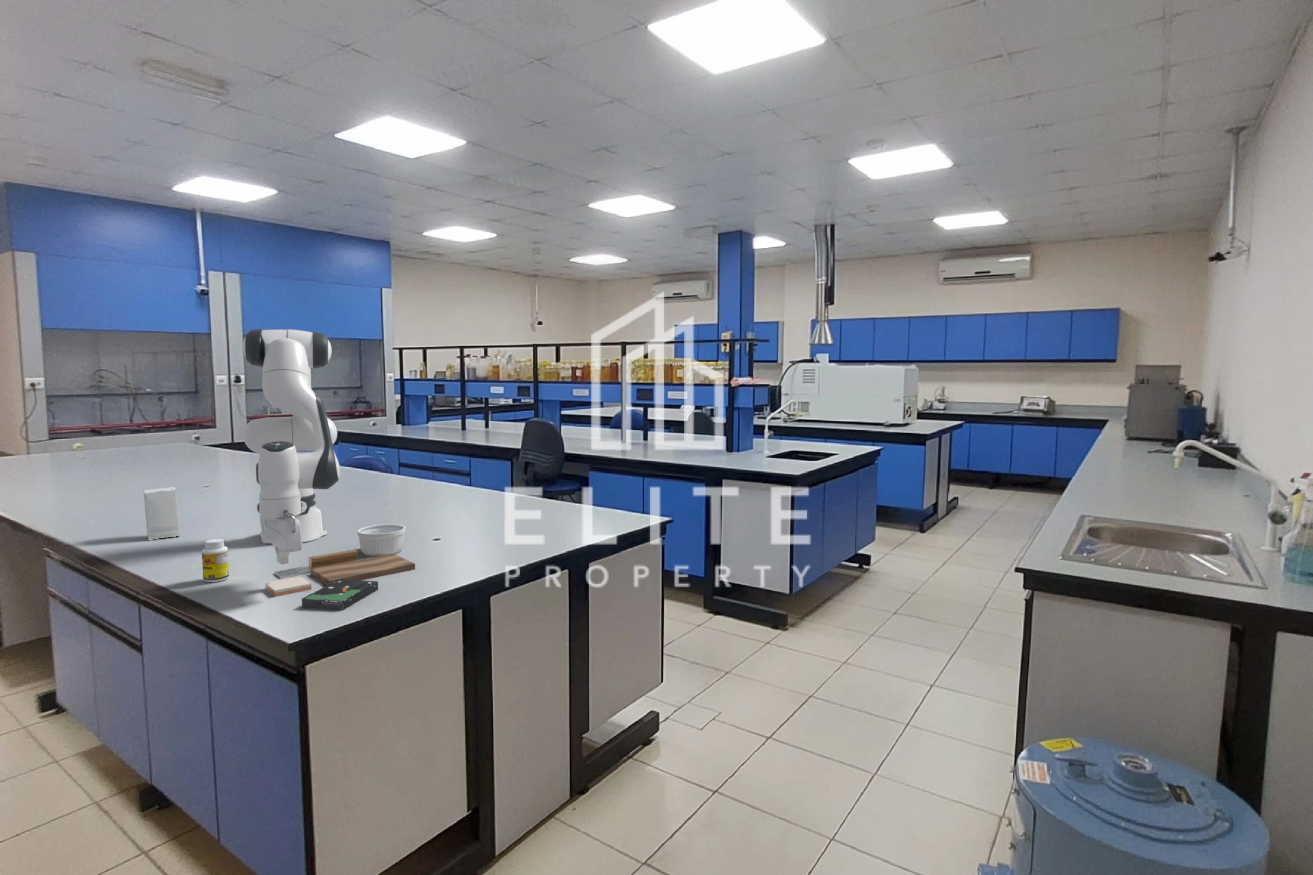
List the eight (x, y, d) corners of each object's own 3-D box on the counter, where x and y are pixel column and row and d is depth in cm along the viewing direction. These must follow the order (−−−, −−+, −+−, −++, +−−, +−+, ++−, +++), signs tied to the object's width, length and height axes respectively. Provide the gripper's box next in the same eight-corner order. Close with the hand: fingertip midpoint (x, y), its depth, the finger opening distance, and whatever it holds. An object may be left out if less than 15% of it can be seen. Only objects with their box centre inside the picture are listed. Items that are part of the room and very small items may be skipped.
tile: (265, 582, 162) (274, 590, 157) (300, 576, 168) (311, 583, 162) (265, 590, 163) (275, 598, 157) (300, 583, 168) (311, 591, 163)
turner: (352, 559, 189) (351, 548, 188) (360, 564, 184) (359, 552, 184) (273, 573, 175) (273, 561, 174) (280, 579, 170) (280, 566, 170)
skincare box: (178, 533, 216) (175, 486, 215) (180, 537, 211) (177, 489, 210) (146, 537, 211) (143, 489, 210) (147, 541, 206) (144, 492, 205)
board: (310, 574, 175) (310, 568, 174) (393, 558, 190) (393, 553, 190) (329, 586, 165) (329, 580, 165) (415, 569, 180) (415, 563, 180)
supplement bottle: (198, 581, 168) (196, 541, 167) (221, 575, 173) (219, 536, 172) (210, 584, 165) (208, 544, 164) (233, 578, 170) (232, 539, 169)
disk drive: (339, 589, 164) (301, 609, 150) (339, 578, 164) (300, 597, 149) (379, 591, 163) (344, 612, 148) (378, 580, 163) (343, 600, 148)
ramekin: (348, 555, 194) (347, 531, 193) (379, 544, 206) (378, 522, 205) (385, 559, 190) (385, 535, 189) (415, 548, 202) (414, 525, 202)
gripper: (308, 512, 158) (310, 569, 159) (282, 500, 172) (284, 552, 174) (279, 516, 153) (281, 574, 155) (254, 503, 168) (257, 557, 169)
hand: (282, 562), depth 164 cm, fingers closed
